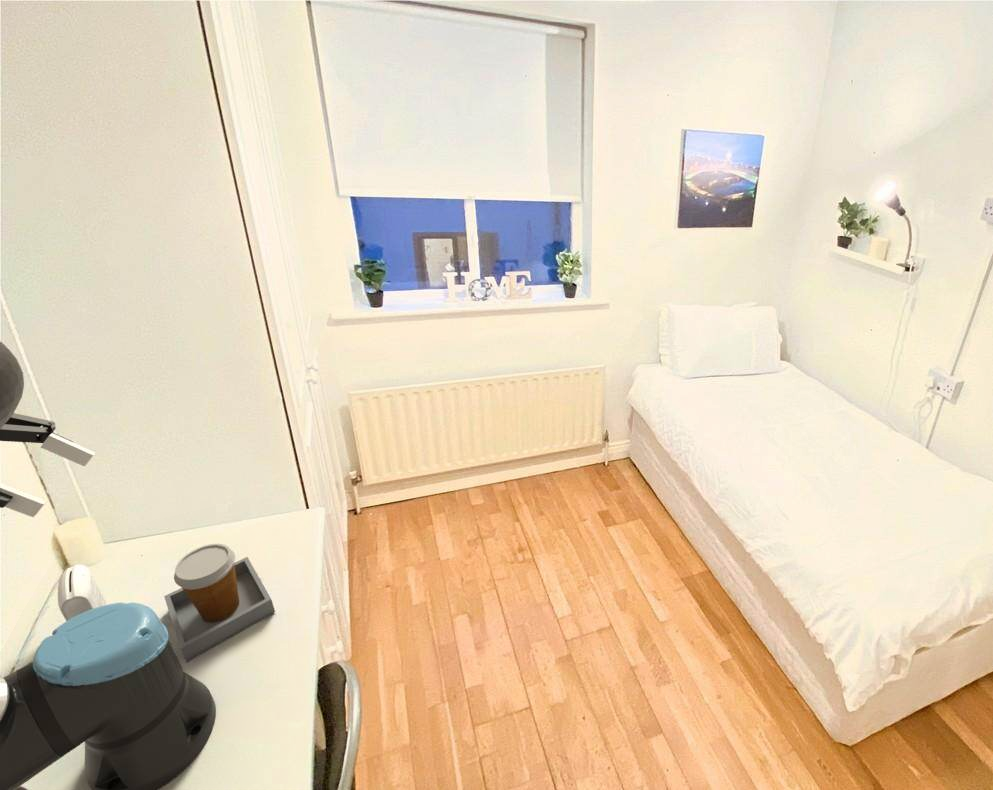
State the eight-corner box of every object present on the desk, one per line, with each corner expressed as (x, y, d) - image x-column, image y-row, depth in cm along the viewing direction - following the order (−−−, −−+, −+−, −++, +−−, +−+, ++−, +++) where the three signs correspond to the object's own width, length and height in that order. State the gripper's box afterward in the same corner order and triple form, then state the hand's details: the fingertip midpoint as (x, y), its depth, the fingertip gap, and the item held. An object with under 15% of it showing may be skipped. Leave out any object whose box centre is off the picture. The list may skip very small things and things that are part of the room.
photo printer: (81, 615, 86) (54, 566, 80) (110, 603, 88) (85, 555, 83) (81, 654, 78) (50, 603, 73) (112, 640, 81) (85, 590, 76)
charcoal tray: (275, 612, 86) (271, 599, 84) (186, 662, 77) (180, 648, 75) (251, 569, 95) (247, 556, 94) (169, 609, 87) (164, 596, 85)
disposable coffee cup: (206, 590, 90) (188, 543, 85) (256, 585, 91) (241, 539, 86) (181, 633, 81) (160, 584, 76) (236, 627, 82) (219, 579, 77)
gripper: (-51, 393, 73) (95, 458, 82) (-229, 480, 51) (-2, 555, 60) (-26, 358, 72) (118, 428, 81) (-197, 432, 50) (28, 516, 59)
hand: (67, 482), depth 71 cm, fingers open, 13 cm apart
